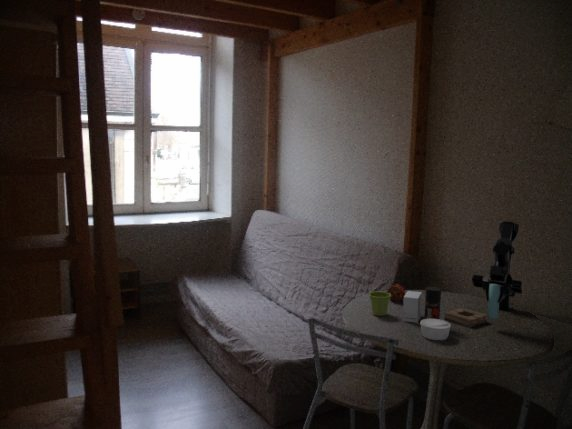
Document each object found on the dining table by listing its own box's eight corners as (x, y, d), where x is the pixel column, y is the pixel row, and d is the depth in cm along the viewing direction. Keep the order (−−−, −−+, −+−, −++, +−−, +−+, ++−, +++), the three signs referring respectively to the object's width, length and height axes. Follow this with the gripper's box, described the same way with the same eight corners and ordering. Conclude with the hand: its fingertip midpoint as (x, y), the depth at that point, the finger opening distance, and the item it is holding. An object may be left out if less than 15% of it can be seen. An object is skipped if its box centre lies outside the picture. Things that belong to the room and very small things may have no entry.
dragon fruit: (398, 307, 240) (390, 303, 251) (412, 296, 240) (404, 293, 252) (387, 292, 239) (380, 289, 251) (401, 281, 240) (394, 279, 252)
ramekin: (445, 344, 191) (446, 330, 190) (415, 337, 197) (416, 324, 196) (453, 335, 201) (454, 322, 200) (424, 329, 206) (425, 316, 206)
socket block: (461, 314, 226) (461, 307, 226) (486, 322, 217) (487, 315, 216) (444, 319, 219) (444, 312, 218) (469, 327, 209) (470, 320, 209)
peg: (490, 314, 210) (493, 283, 209) (500, 317, 207) (502, 285, 206) (485, 316, 208) (487, 284, 206) (494, 319, 205) (496, 286, 203)
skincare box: (406, 313, 226) (407, 290, 224) (421, 315, 223) (422, 292, 222) (401, 321, 216) (403, 296, 215) (417, 323, 214) (419, 298, 212)
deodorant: (439, 323, 214) (441, 287, 212) (438, 328, 208) (440, 291, 206) (424, 321, 216) (426, 286, 214) (423, 326, 210) (425, 289, 208)
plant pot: (365, 315, 222) (366, 295, 221) (370, 309, 231) (371, 290, 230) (387, 318, 219) (388, 298, 218) (392, 312, 228) (393, 292, 227)
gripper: (474, 254, 213) (466, 286, 205) (524, 260, 203) (517, 294, 195) (477, 270, 220) (469, 301, 213) (525, 276, 211) (519, 309, 203)
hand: (493, 301), depth 206 cm, fingers closed on peg, 4 cm apart
